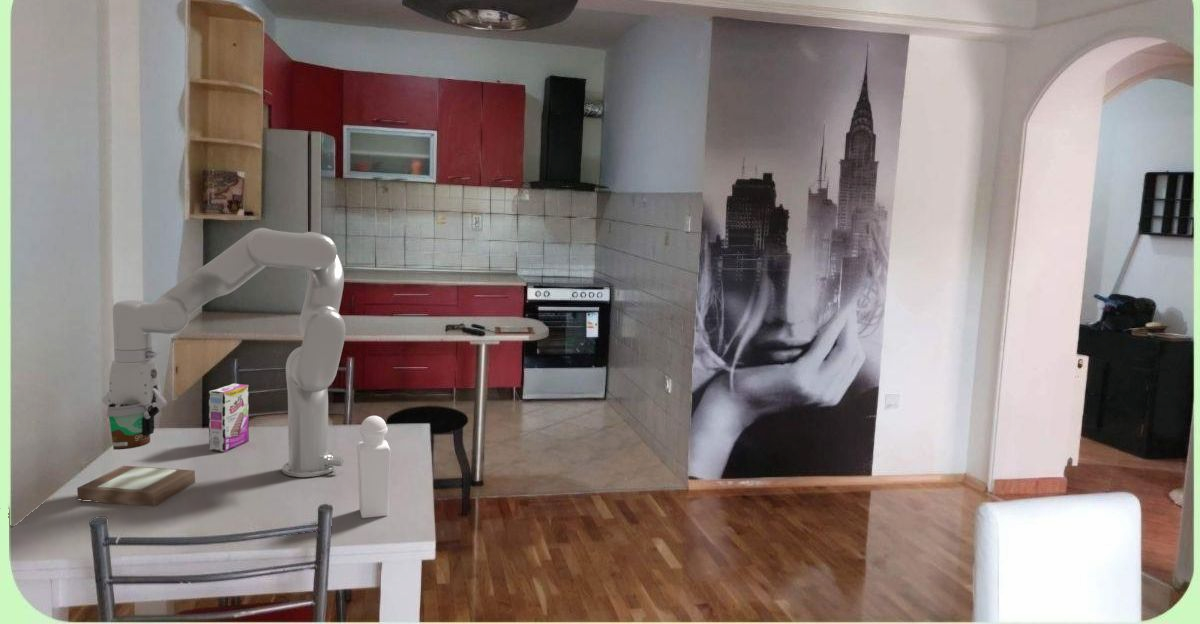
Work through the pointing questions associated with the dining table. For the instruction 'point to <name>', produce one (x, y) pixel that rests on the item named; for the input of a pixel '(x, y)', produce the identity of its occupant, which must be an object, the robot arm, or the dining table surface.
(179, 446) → the dining table surface
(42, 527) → the dining table surface
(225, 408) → the candy bar box
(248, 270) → the robot arm
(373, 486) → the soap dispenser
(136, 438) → the food container
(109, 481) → the plinth
